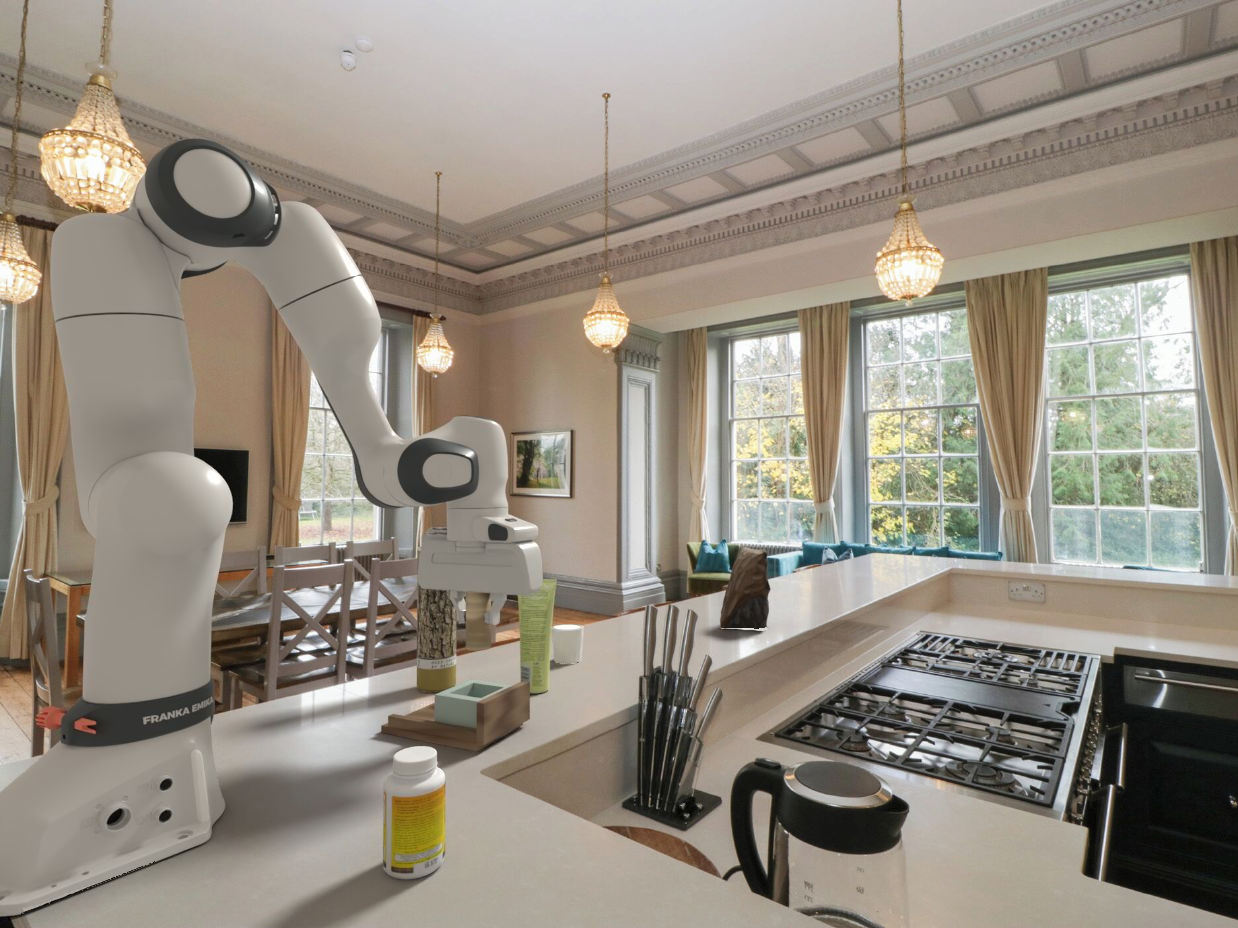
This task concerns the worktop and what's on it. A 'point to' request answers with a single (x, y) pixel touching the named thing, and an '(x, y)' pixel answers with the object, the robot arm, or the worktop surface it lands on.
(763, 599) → the brown rock
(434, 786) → the supplement bottle
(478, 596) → the dowel
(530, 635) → the tube
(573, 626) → the white short cylinder
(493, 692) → the socket block
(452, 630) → the paper tube
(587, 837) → the worktop surface
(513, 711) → the wooden tray
